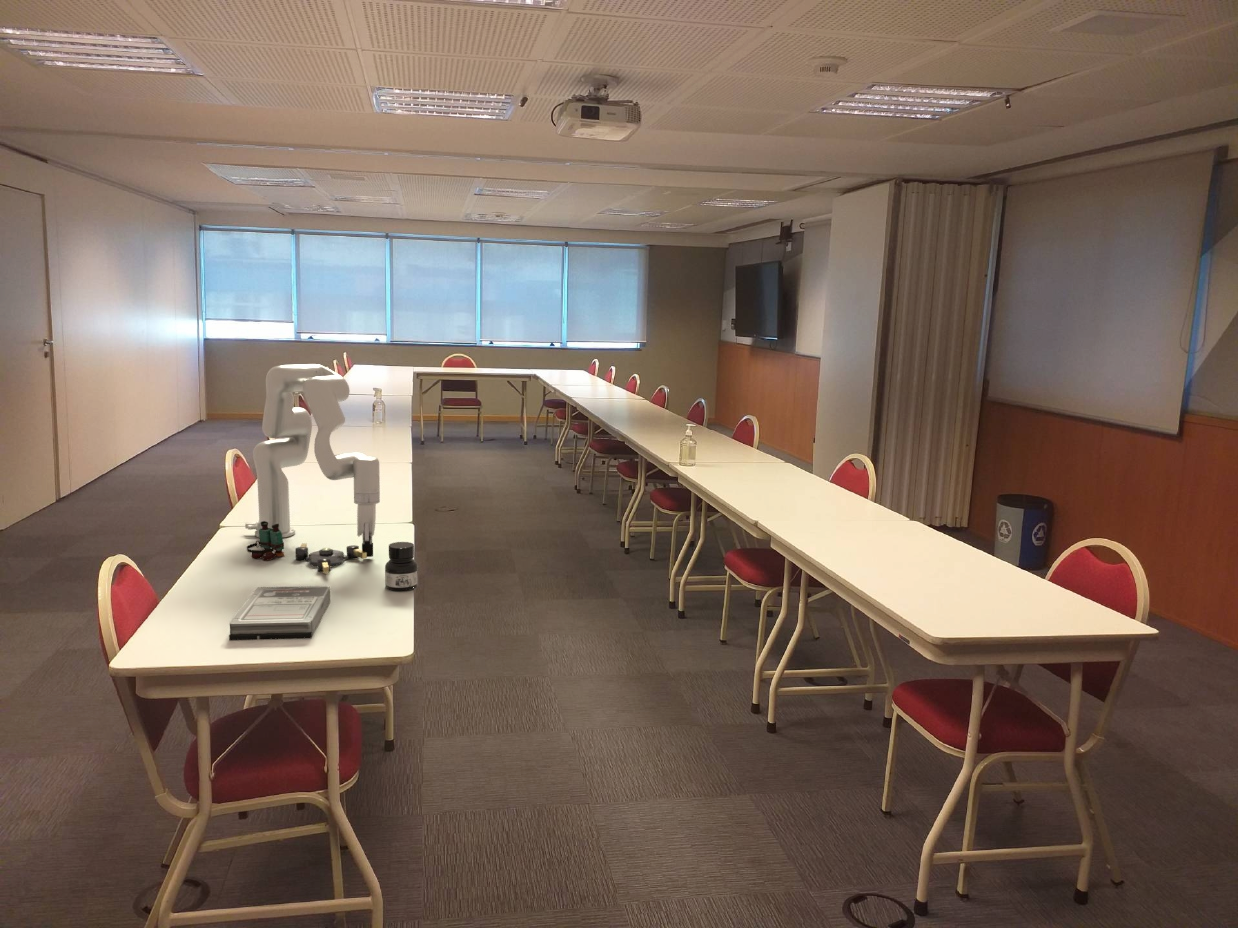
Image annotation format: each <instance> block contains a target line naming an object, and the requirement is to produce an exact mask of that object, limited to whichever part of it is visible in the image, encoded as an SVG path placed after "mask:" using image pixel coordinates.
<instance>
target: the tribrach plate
mask: <svg viewBox="0 0 1238 928" xmlns="http://www.w3.org/2000/svg"><path fill="white" fill-rule="evenodd" d="M319 558H330V564H331V567H335V566H340V565H342V564H343V563H344V562H345V560H348V556H347V554H345V553H344V552H343V551H342V550H337V549H333V548H330V547H323V548H321V549H319V550H317V551H313V552H310V553H308V557H306V560H305V561H306V562H308V564H309V565H310V566H311V567H317V568H318V565H317V559H319Z"/></svg>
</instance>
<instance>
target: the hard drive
mask: <svg viewBox="0 0 1238 928" xmlns="http://www.w3.org/2000/svg"><path fill="white" fill-rule="evenodd" d="M330 603H331V586H329V585H316V586H315V585H314V586H313V585H309V586H308V585H307V586H259V587H256V588H255V590H253V592H252V593H251V595H250V596H249V597H248V599H246V601H245V602H244V603H243V605H242V606H240V608H239V609H238V610H237V612H236V613H235V615H234V616H233V617H232V618H231V619H230V621H229V635H228V640H229V641H255V640H257V641H258V640H260V641H262V640H266V641H267V640H298V639H299V640H301V639H303V640H304V639H312V638H313V636H315V632H316V631H317V629H318V628H319V625H320V623H321V621H322V619H323V618H324V616H325V613H326V612H327V609H328V608H329V605H330Z"/></svg>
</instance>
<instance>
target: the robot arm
mask: <svg viewBox="0 0 1238 928" xmlns="http://www.w3.org/2000/svg"><path fill="white" fill-rule="evenodd" d="M294 392H295V393H296V392H303V395H304V397H305V400H306V403H307V405H308V407H309V410H310V412H311V414H312V417H313V419H314V422H315V424H316V427H317V433H316V435H315V438H314V445H313V446H314V447H313V449H314V455H315V456H314V457H315V460H316V461H317V464H318V466H319V468H320V470H321V473H322V474H323V475H324V477H326V479H328V480H329V481H330V480H331V481H339V480H345V479H351V478H353V503H354V504H356V505H357V507H356V508H357V510H356V511H357V512H356V513H357V515H356V517H357V518H356V519H357V520H356V521H357V527H356V528H357V530H356V531H357V534H356V536H357V537H362V542H361V550H362V551H364V552H367V558H372V557H374V542H373V537H374V535H375V530H376V520H377V519H376V517H377V516H376V515H377V512H376V511H377V507H376V505H377V504H379V503H380V502H381V496H380V495H381V493H380V491H381V490H380V489H381V488H380V486H381V485H380V481H381V480H380V460H379V458H378V457H376V456H371V455H369V456H368V455H365V453H362V452H359V451H358V452H355V451H354V452H347V453H341V454H334V451H333V449H332V447H331V440H330V438H331V435H332V433H333V432H335V431H337V430H338V429H340V428H341V427H342V426H343V425H344V424H345V423H346V417H345V415H344V413H343V411H342V409H341V408H342V407H341V405H340V402H344V401H347V399H348V398H349V395H350V386H349V383H348V382H347V380H346V379H345V378H344V377H343V376H342V375H340V374H339V373H337V372H335V371H333V370H332V369H330V368H328V367H326V366H324V365H321V364H319V363H318V364H316V363H307V364H306V363H305V364H283V365H275V366H273V367H271V368H270V369H269V370H268V372H267V373H266V377H265V393H266V395H265V396H266V397H265V402H264V411H263V416H262V424H261V425H262V429H261V430H262V433H263V434H264V436H265V437H267V438H268V439H269V440H264V441H261V442H258V443H257V444H256V445H255V447H254V448H253V451H252V458H253V462H254V467H255V471H256V480H257V501H258V521H255V522H245V525H244V527H245V529H247V530H250V531H251V530H255V531H254V536H255V537H256V538H259V529H261V528H262V526H261V522H262V521H266V522H268V528H272V525H275V524H279V527H278V528H279V530H281V533H282V538H288V537H292V536H294V535H295V534H296V529H295V528H294V527H291V523H290V522H291V520H290V517H291V516H290V515H291V514H290V491H289V490H290V489H289V485H290V484H289V480H288V478H287V476H286V474H285V472H284V471H283V470H282V469H284V468H290V467H296V466H300V465H302V464H304V463H305V461H306V460H307V458H308V454H309V448H310V442H311V438H312V437H311V435H312V429H313V422H312V417H311V414H310V413H309V412H308V410H307V409H305V408H303V407H295V406H294V404H295V397H294V394H293V393H294ZM272 529H273V528H272Z"/></svg>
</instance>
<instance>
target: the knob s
mask: <svg viewBox="0 0 1238 928" xmlns="http://www.w3.org/2000/svg"><path fill="white" fill-rule="evenodd" d="M317 565H318V567H317V572H319V573H323V574H330V571H331V569H332V568H331V567H332V566H331V564H330V558H319V559H317Z"/></svg>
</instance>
